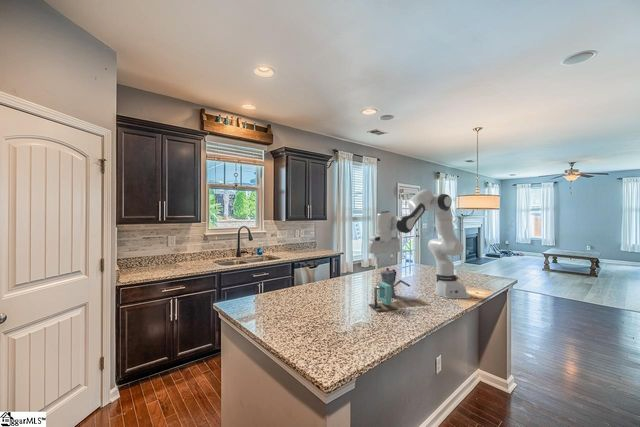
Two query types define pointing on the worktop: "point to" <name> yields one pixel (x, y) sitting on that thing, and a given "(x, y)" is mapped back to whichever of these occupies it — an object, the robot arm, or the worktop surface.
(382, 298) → the teal square frame
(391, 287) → the wire
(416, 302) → the board
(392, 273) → the moka pot
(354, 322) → the worktop surface
